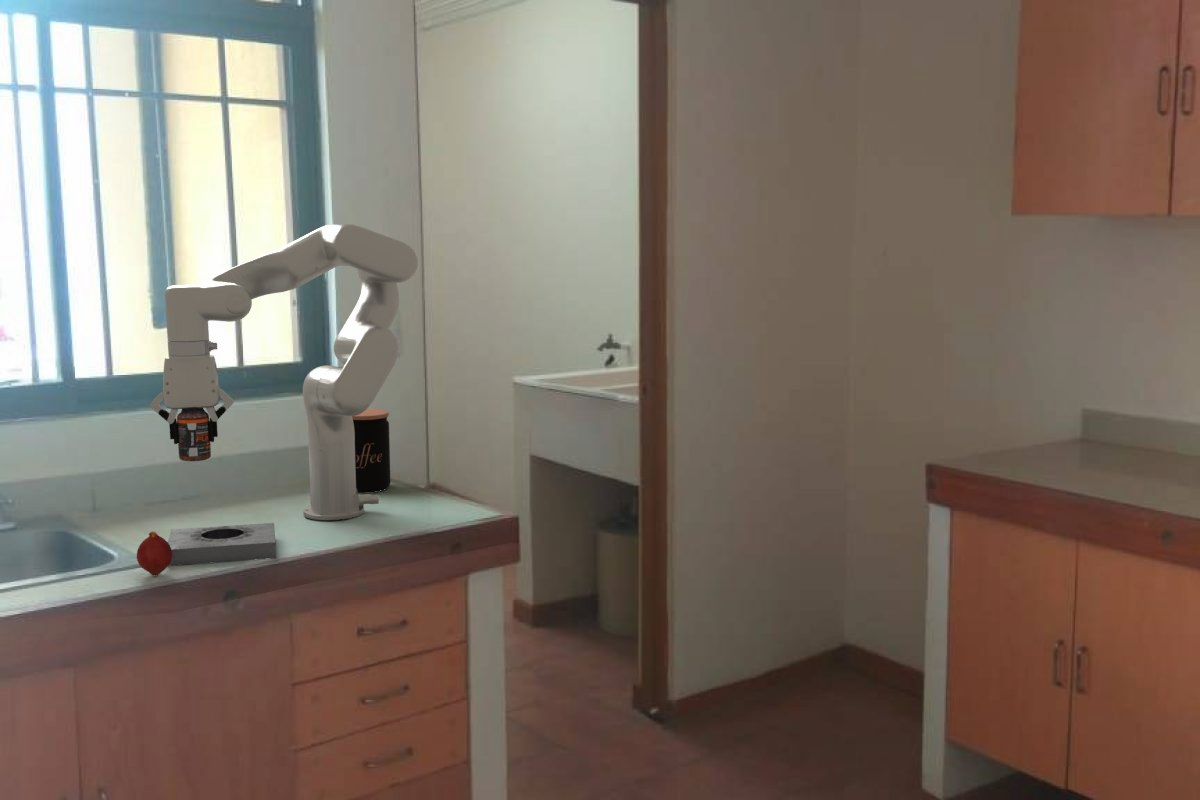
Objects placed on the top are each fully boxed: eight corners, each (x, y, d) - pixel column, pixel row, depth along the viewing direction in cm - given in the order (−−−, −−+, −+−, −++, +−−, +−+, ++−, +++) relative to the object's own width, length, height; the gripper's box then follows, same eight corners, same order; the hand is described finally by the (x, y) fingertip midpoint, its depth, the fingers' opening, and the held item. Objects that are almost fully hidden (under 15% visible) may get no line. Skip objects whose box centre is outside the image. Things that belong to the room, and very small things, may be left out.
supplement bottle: (201, 462, 226) (197, 404, 225) (172, 461, 228) (169, 403, 226) (217, 456, 232) (213, 399, 230) (189, 455, 233) (186, 399, 232)
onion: (143, 571, 209) (141, 527, 208) (177, 570, 210) (174, 526, 209) (133, 580, 204) (131, 535, 202) (167, 580, 204) (165, 535, 203)
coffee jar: (336, 492, 271) (334, 415, 269) (354, 483, 282) (351, 408, 279) (381, 494, 269) (379, 416, 267) (396, 484, 280) (395, 409, 277)
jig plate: (274, 537, 232) (274, 522, 231) (276, 558, 218) (275, 542, 217) (172, 544, 227) (171, 529, 226) (166, 566, 212) (166, 549, 212)
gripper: (236, 346, 233) (241, 436, 235) (142, 349, 228) (148, 441, 231) (235, 349, 225) (240, 442, 228) (139, 353, 221) (145, 448, 223)
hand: (194, 441), depth 229 cm, fingers closed on supplement bottle, 5 cm apart
